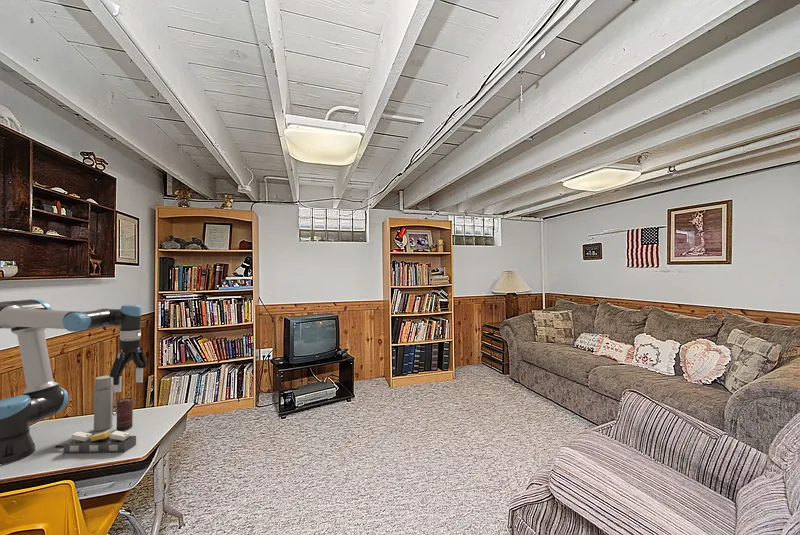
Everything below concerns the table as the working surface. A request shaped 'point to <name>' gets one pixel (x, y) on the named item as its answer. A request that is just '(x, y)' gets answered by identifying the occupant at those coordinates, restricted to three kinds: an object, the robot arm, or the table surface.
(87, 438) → the rocker
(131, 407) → the can
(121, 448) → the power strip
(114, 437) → the rocker
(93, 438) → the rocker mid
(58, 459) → the table surface
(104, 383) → the water bottle
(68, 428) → the table surface
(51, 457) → the table surface
